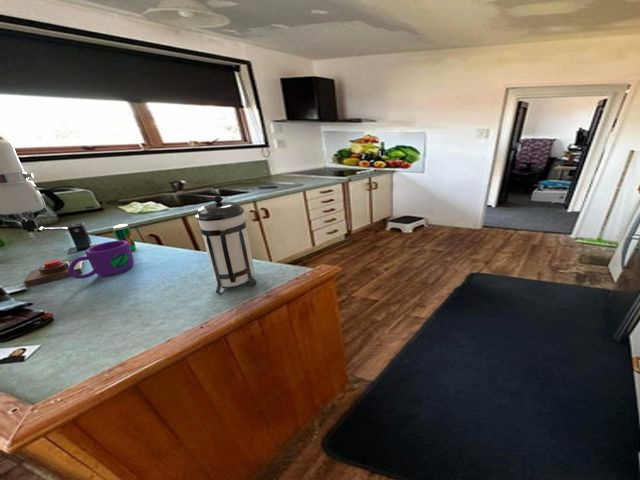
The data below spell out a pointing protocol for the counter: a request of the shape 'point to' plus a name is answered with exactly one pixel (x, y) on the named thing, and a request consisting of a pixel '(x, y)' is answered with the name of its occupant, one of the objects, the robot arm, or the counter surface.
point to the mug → (105, 259)
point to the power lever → (50, 229)
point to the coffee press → (226, 243)
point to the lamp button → (52, 263)
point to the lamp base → (52, 273)
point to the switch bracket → (80, 238)
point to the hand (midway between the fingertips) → (32, 231)
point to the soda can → (124, 235)
